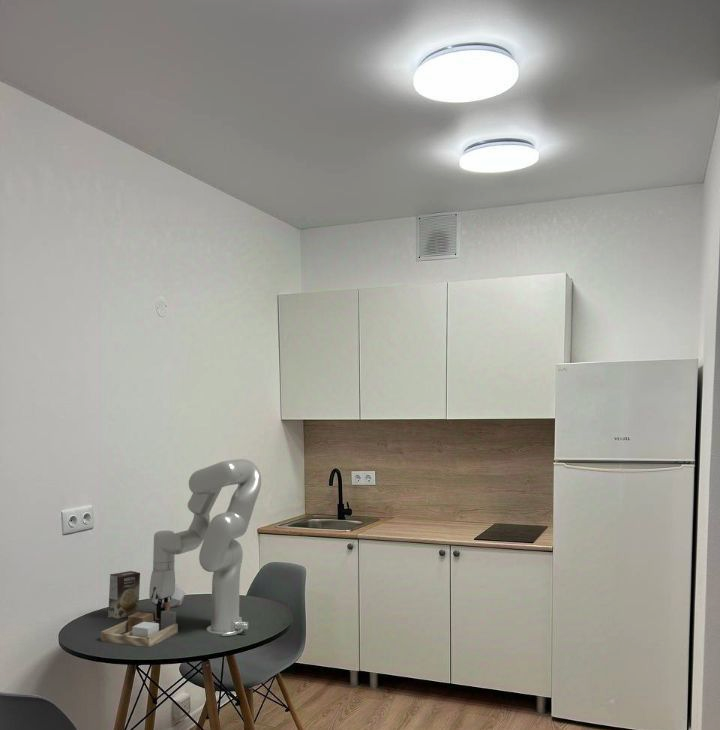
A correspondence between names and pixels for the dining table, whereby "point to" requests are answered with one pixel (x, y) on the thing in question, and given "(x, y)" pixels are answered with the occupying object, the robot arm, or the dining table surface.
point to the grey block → (154, 625)
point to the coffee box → (124, 594)
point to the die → (177, 597)
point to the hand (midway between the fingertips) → (162, 616)
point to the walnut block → (144, 617)
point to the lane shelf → (127, 638)
